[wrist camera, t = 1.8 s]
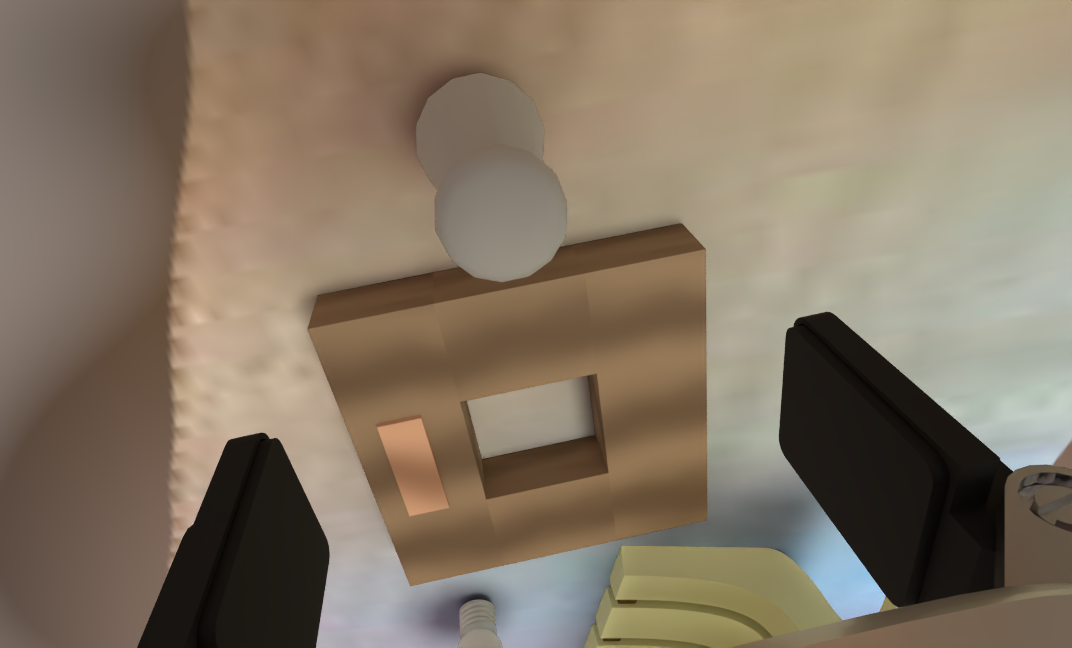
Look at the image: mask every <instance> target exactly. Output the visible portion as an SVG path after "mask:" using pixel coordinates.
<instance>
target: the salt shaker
mask: <svg viewBox="0 0 1072 648" xmlns="http://www.w3.org/2000/svg"><path fill="white" fill-rule="evenodd" d="M544 130H545V129H544V126H543V124H542V121H541V119H540V116H539V113H538V111H537V108H536V106H535V103H534V101H533V100H532V99H530V98H529V97H528V96H527V95H526V94H525V93H524V92H523V91H522V90H520V89H519V88H518V87H517V86H516V85H515V84H514V83H513V82H511V81H509V80H505V79H502V78H498V77H495V76H491V75H487V74H484V73H477V74H472V75H467V76H463V77H458V78H453V79H451V80H450V81H449V82H447V83H446V84H445V85H444V86H443V87H441V88H440V89H439V90H438V91H436V92H435V93H434V94H433V95H431V96H430V97H429V98H428V99H427V102H426V104H425V106H424V109H423V111H422V113H421V116H420V118H419V120H418V122H417V125H416V148H417V158H418V159H419V161H420V163H421V165H422V167H423V169H424V170H425V172H426V174H427V176H428V178H429V179H430V181H431V183H432V184H433V185H434V186H435V188H436V189H437V190H438V191H437V193H436V197H435V231H436V233H437V235H438V237H439V238H440V240H441V242H442V244H443V246H444V247H445V249H446V251H447V253H448V254H449V256H450V258H451V260H452V261H453V262H454V263H455V264H457V265H458V266H460V267H461V268H462V269H464V270H465V271H466V272H468V273H469V274H471V275H472V276H473V277H475V278H481V279H486V280H492V281H498V282H506V281H510V280H515V279H520V278H525V277H529V276H531V275H532V274H533V273H535V272H536V271H537V270H539V269H540V268H541V267H543V266H544V265H546V264H547V263H548V262H550V261H551V260H552V258H553V257H554V255H555V253H556V252H557V250H558V248H559V247H560V245H561V243H562V242H563V240H564V238H565V237H566V223H567V201H566V198H565V195H564V193H563V190H562V188H561V185H560V183H559V180H558V178H557V175H556V174H555V173H554V171H553V170H552V169H551V168H550V167H548V166H547V165H546V164H545V163H544V162H543V151H544Z"/></svg>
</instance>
